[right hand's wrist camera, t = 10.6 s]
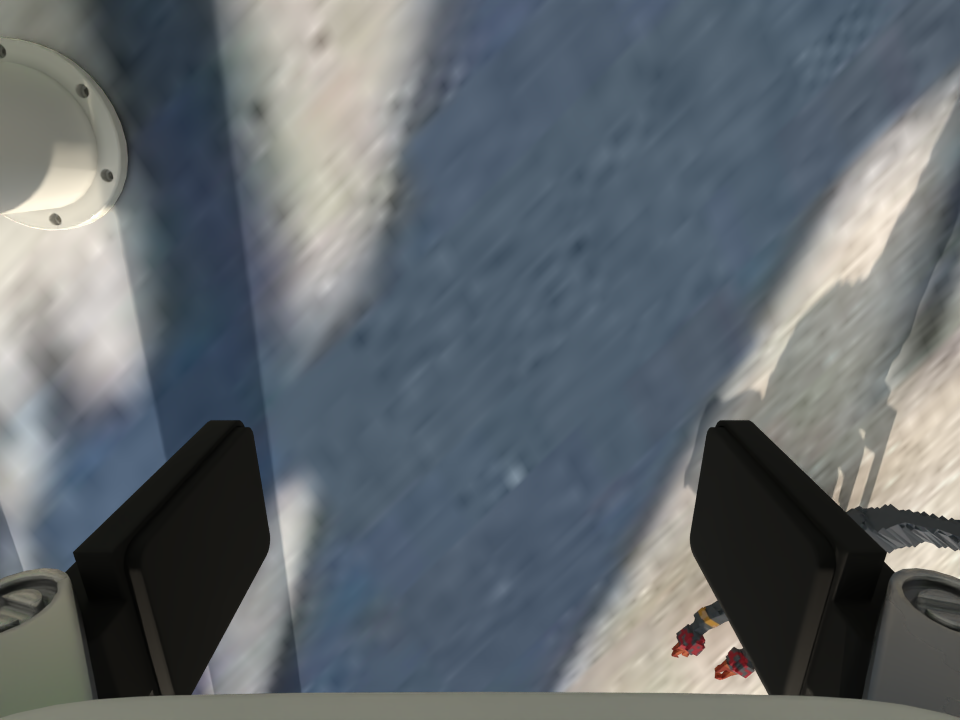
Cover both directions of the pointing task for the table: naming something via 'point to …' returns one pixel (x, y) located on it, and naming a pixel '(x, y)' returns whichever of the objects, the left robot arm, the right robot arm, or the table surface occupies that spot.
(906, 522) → the toy
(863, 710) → the right robot arm
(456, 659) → the table surface
